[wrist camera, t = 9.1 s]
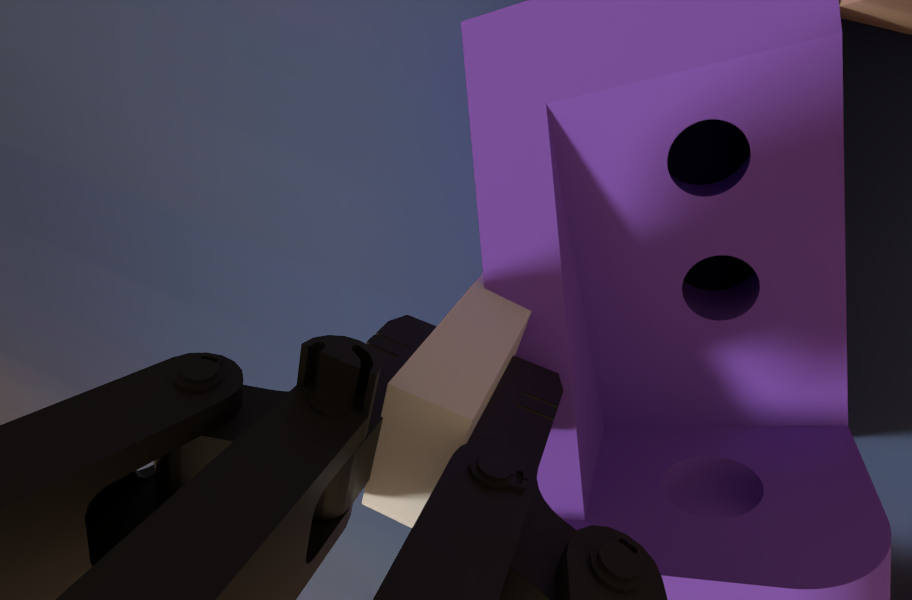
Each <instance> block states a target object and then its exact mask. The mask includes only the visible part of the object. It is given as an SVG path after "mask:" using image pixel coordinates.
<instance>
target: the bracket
mask: <svg viewBox="0 0 912 600" xmlns="http://www.w3.org/2000/svg"><path fill="white" fill-rule="evenodd" d="M461 29H462V40H463V51H464V62H465V74H466V85H467V96H468V107H469V119H470V130H471V141H472V152H473V164H474V175H475V186H476V197H477V209H478V220H479V231H480V242H481V254H482V265H483V276H484V287H485V289H487V290H489V291H491V292H493V293H495V294H497V295H499V296H501V297H503V298H505V299H508V300H510V301H512V302H514V303H516V304H518V305H520V306H522V307H524V308H526V309H528V310H530V311H532V312H531V315H530V317H529V320H528V323H527V325H526V328H525V331H524V333H523V336H522V339H521V341H520V344H519V347H518V349H517V352H516V355H515V356H516V357H519V358H521V359H524V360H526V361H529V362H531V363H534V364H536V365H539V366H541V367H544V368H546V369H549V370H551V371H554V372H556V373H558V374H559V377H560V380H561V384H562V387H563V390H564V391H563V394H562V397H561V400H560V403H559V406H558V409H557V412H556V415H555V418H554V421H553V425H552V428H551V431H550V434H549V437H548V440H547V443H546V446H545V449H544V452H543V455H542V458H541V461H540V464H539V468H538V473H537V482H538V487H539V490H540V492H541V494H542V496H543V498H544V500H545V501H546V502H547V504H548V505H549V506H550V508H551V509H552V510H553V511H554V512H555V513H556V514H557V515H558V516H560V517H561V518H562V519H563V520H564V521H566V522H567V523H568V524H569V525H571V526H572V527H573V528H575V529H576V530H578V529H581V528H584V527H587V526H591V525H596V526H607V527H610V528H613V529H615V530H618V531H620V532H623V533H625V534H627V535H628V536H629V537H631V538H632V539H633V540H635V541H636V542H638V543H639V544H640V545H642V546H643V548H644V549H645V550H646V551H647V552H648V554H649V555H650V556H651V557H652V559H653V560H654V561H655V563H656V565H657V567H658V570H659V572H660V574H661V576H662V579H663V583H664V587H665V591H666V595H667V599H668V600H890V584H891V529H890V524H889V521H888V518H887V516H886V514H885V511H884V509H883V506H882V504H881V502H880V499H879V497H878V495H877V492H876V490H875V488H874V485H873V483H872V481H871V478H870V476H869V474H868V471H867V469H866V467H865V464H864V462H863V460H862V457H861V455H860V453H859V450H858V448H857V445H856V443H855V441H854V438H853V436H852V434H851V431H850V429H849V427H848V385H847V319H846V254H845V188H844V122H843V56H842V27H841V17H840V8H839V0H527V1H524V2H521V3H518V4H515V5H512V6H509V7H506V8H502V9H499V10H496V11H493V12H490V13H487V14H484V15H481V16H478V17H474V18H471V19H468V20H465V21H462V22H461ZM709 119H718V120H724V121H727V122H730V123H732V124H734V125H735V126H737V127H738V128H739V129H740V130H741V131H742V132H743V133H744V134H745V136H746V137H747V140H748V142H749V145H750V154H749V156H748V157H747V159H746V161H745V162H744V163H743V165H742V166H741V167H740V168H739V169H738V170H737V171H736V172H734V173H733V174H732V175H730V176H729V177H727V178H725V179H723V180H721V181H718V182H715V183H711V184H705V185H695V184H689V183H685V182H682V181H680V180H678V179H676V178H675V177H673V176H672V175H671V174H670V173H669V171H668V166H667V158H668V152H669V149H670V147H671V145H672V143H673V141H674V140H675V138H676V137H677V136H678V135H679V134H680V133H681V132H682V131H683V130H684V129H685V128H687V127H688V126H690V125H692V124H694V123H696V122H699V121H703V120H709ZM717 255H727V256H733V257H736V258H739V259H741V260H743V261H745V262H746V263H748V264H749V265H750V266H751V267H752V268H753V269H754V272H753V273H752V275H751V276H750V277H749V278H747V279H746V280H745V281H744V282H742V283H741V284H739V285H737V286H735V287H732V288H729V289H725V290H719V291H708V290H702V289H698V288H695V287H693V286H691V285H689V284H688V283H686V282H685V281H683V280H684V277H685V275H686V274H687V272H688V271H689V269H690V268H691V267H692V266H693V265H695V264H696V263H697V262H699V261H701V260H703V259H705V258H708V257H711V256H717Z"/></svg>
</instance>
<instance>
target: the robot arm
mask: <svg viewBox="0 0 912 600" xmlns="http://www.w3.org/2000/svg"><path fill="white" fill-rule="evenodd" d="M531 312H532V311H530V310H528V309H526V308H524V307H522V306H520V305H518V304H516V303H514V302H512V301H510V300H508V299H505V298H503V297H501V296H499V295H497V294H495V293H493V292H491V291H489V290H487V289H485V287H484V276H483V273H482V274H481V276H480V277H479V278H478V279H477V280H476V281H475V283H474V284H473V285H472V286H471V287H470V288H469V290H468V291H467V292H466V293H465V294H464V295H463V297H462V298H461V299H460V300H459V301H458V302H457V304H456V305H455V306H454V307H453V308H452V309H451V311H450V312H449V313H448V314H447V315H446V316H445V318H444V319H443V320H442V321H441V322H440V323H439V325H438V326H434V325H432V324H429V323H427V322H424V321H422V320H419V319H417V318H414V317H412V316H409V315H405V316H402V317H399V318H397V319H394V320H391V321H388V322H387V323H386V324H385V325H384V326H383V327H382V328H381V329H380V330H379V331H378V332H377V333H376V335H373V336H372V337H371V338H370V339H369V340H368V341H367V342H366V344H365V343H363V342H361V341H359V340H356V339H353V338H349V337H346V336H334V335H327V336H321V337H315V338H312V339H310V340H308V341H306V342H304V343H302V346H301V354H300V363H299V371H298V379H297V385H296V386H295V387H294V388H293V389H292V390H291V391H289V392H285V391H275V390H269V389H263V388H258V387H252V386H247V385H243V374H242V370H241V368H240V367H239V366H238V365H237V364H236V363H235V362H234V361H232V360H230V359H228V358H226V357H224V356H222V355H217V354H211V353H188V354H184V355H180V356H177V357H173V358H170V359H168V360H165V361H163V362H160V363H158V364H155V365H153V366H150V367H147V368H145V369H142V370H140V371H137V372H135V373H132V374H130V375H127V376H125V377H122V378H120V379H117V380H114V381H112V382H109V383H107V384H104V385H102V386H99V387H97V388H94V389H92V390H89V391H86V392H84V393H81V394H79V395H76V396H74V397H71V398H69V399H66V400H64V401H61V402H59V403H56V404H53V405H51V406H48V407H46V408H43V409H41V410H38V411H36V412H33V413H31V414H28V415H26V416H23V417H20V418H18V419H15V420H13V421H10V422H8V423H5V424H3V425H0V600H296V599H297V597H298V596H299V594H300V593H301V591H302V590H303V589H304V587H305V586H306V584H307V583H308V581H309V580H310V578H311V577H312V576H313V574H314V573H315V571H316V570H317V568H318V567H319V565H320V564H321V562H322V561H323V560H324V558H325V557H326V555H327V554H328V552H329V551H330V549H331V548H332V547H333V545H334V544H335V542H336V541H337V539H338V538H339V536H340V535H341V533H342V532H343V531H344V529H345V528H346V525H347V523H348V520H349V518H350V515H351V510H352V505H353V502H354V501H355V499H356V498H357V496H358V495H359V494H360V492H361V491H362V489H363V488H364V487H365V491H364V496H363V500H362V504H363V505H365V506H367V507H369V508H371V509H373V510H376V511H378V512H380V513H382V514H384V515H386V516H388V517H390V518H392V519H394V520H396V521H398V522H400V523H402V524H404V525H406V526H408V527H410V528H412V529H411V531H410V533H409V535H408V537H407V539H406V540H405V542H404V544H403V546H402V548H401V550H400V551H399V553H398V555H397V557H396V559H395V560H394V562H393V564H392V566H391V568H390V570H389V571H388V573H387V575H386V577H385V579H384V580H383V582H382V584H381V586H380V588H379V590H378V591H377V593H376V595H375V597H374V599H373V600H668V599H667V595H666V591H665V587H664V583H663V579H662V576H661V574H660V572H659V570H658V567H657V565H656V563H655V561H654V560H653V559H652V557H651V556H650V555H649V554H648V552H647V551H646V550H645V549H644V548H643V546H642V545H640V544H639V543H638V542H636V541H635V540H633V539H632V538H631V537H629V536H628V535H627V534H625V533H623V532H620V531H618V530H615V529H613V528H610V527H607V526H596V525H591V526H587V527H584V528H581V529H578V530H576V529H575V528H573V527H572V526H571V525H569V524H568V523H567V522H566V521H564V520H563V519H562V518H561V517H560V516H558V515H557V514H556V513H555V512H554V511H553V510H552V509H551V508H550V506H549V505H548V504H547V502H546V501H545V500H544V498H543V496H542V494H541V492H540V490H539V487H538V482H537V473H538V468H539V464H540V461H541V458H542V455H543V452H544V449H545V446H546V443H547V440H548V437H549V434H550V431H551V428H552V425H553V421H554V418H555V415H556V412H557V409H558V406H559V403H560V400H561V397H562V394H563V391H564V390H563V387H562V384H561V380H560V377H559V374H558V373H556V372H554V371H551V370H549V369H546V368H544V367H541V366H539V365H536V364H534V363H531V362H529V361H526V360H524V359H521V358H519V357H516V356H515V355H516V352H517V349H518V347H519V344H520V341H521V339H522V336H523V333H524V331H525V328H526V325H527V323H528V320H529V317H530V315H531ZM152 461H154V465H152V466H150V467H148V468H145V469H142V470H139V471H136V470H137V469H139V468H141V467H143V466H145V465H147V464H149V463H150V462H152ZM365 485H366V486H365Z"/></svg>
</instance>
